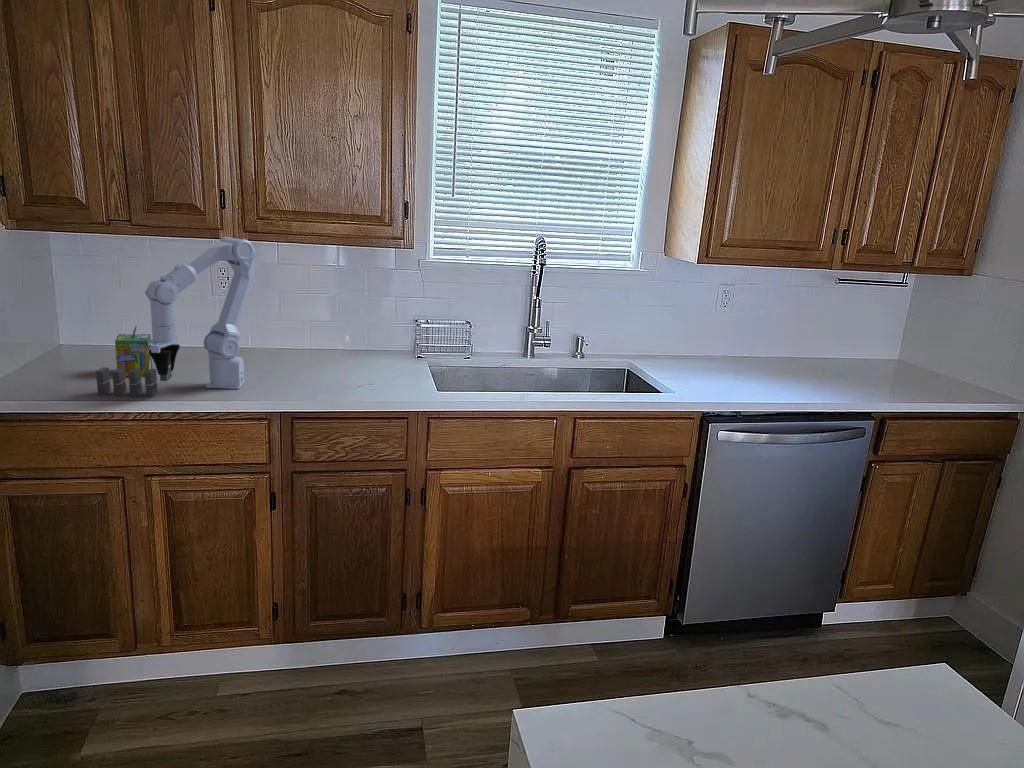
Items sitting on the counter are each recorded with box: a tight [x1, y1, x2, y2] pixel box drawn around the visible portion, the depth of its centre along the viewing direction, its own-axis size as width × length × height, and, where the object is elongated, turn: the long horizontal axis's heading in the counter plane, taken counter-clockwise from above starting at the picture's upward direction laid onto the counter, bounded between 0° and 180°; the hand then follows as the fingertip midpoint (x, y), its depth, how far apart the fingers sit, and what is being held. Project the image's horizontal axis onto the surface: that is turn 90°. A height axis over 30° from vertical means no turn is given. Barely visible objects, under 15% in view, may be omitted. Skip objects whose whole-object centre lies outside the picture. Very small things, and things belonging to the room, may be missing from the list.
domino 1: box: [95, 367, 112, 396], centre depth 202 cm, size 2×4×7 cm, turn 7°
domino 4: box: [144, 368, 159, 398], centre depth 203 cm, size 2×4×7 cm, turn 7°
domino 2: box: [111, 368, 127, 397], centre depth 202 cm, size 2×4×7 cm, turn 7°
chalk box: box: [114, 325, 153, 377], centre depth 223 cm, size 9×9×15 cm
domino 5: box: [159, 355, 173, 382], centre depth 202 cm, size 2×4×7 cm, turn 7°
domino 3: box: [128, 368, 143, 398], centre depth 203 cm, size 2×4×7 cm, turn 7°
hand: (166, 372), depth 203 cm, fingers closed on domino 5, 4 cm apart
